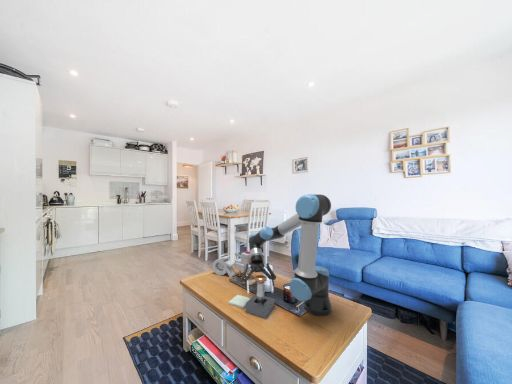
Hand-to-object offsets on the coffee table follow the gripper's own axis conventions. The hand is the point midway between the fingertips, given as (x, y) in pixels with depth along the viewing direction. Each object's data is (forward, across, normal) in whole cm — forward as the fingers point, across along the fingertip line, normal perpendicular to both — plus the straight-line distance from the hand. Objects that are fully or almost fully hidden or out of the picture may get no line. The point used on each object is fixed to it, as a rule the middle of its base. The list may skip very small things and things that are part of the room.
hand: (260, 292), depth 115 cm
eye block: (+6, 0, -8) cm, 10 cm away
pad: (-1, +10, -15) cm, 18 cm away
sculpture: (-31, +19, -45) cm, 58 cm away
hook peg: (+6, 0, -8) cm, 10 cm away
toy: (-26, +3, -40) cm, 48 cm away
